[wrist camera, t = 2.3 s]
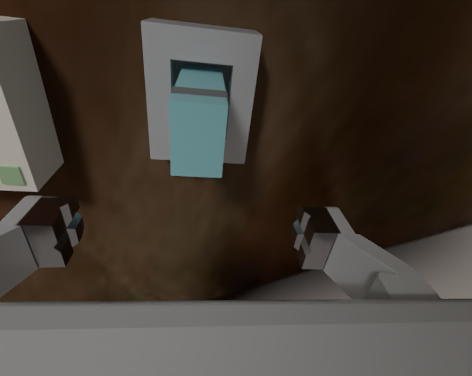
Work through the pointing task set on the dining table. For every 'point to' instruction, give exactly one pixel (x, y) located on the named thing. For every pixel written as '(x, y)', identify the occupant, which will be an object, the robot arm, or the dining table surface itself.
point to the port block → (24, 114)
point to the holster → (202, 53)
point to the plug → (198, 122)
